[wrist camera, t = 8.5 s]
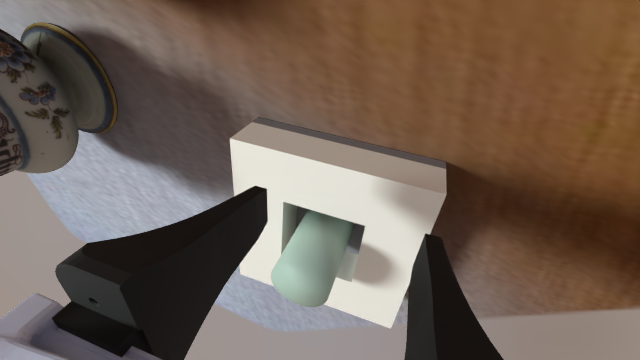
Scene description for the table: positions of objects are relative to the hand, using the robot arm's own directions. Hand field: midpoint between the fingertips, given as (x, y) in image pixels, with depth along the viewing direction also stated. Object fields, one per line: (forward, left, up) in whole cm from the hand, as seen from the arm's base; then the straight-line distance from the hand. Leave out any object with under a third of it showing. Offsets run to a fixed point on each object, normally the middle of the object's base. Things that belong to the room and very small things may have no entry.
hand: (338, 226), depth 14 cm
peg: (+2, +8, -9) cm, 12 cm away
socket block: (+2, +8, -10) cm, 12 cm away
